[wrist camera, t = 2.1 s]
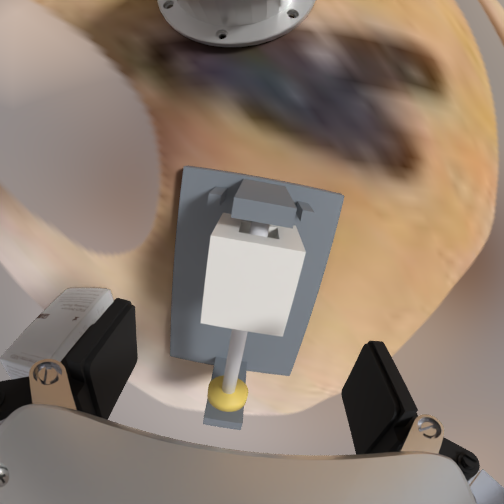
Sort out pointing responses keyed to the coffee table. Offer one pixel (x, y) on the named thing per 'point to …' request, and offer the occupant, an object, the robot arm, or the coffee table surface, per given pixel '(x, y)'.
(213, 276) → the sleeve
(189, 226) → the slide rail
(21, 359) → the skincare box
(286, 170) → the coffee table surface
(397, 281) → the coffee table surface
